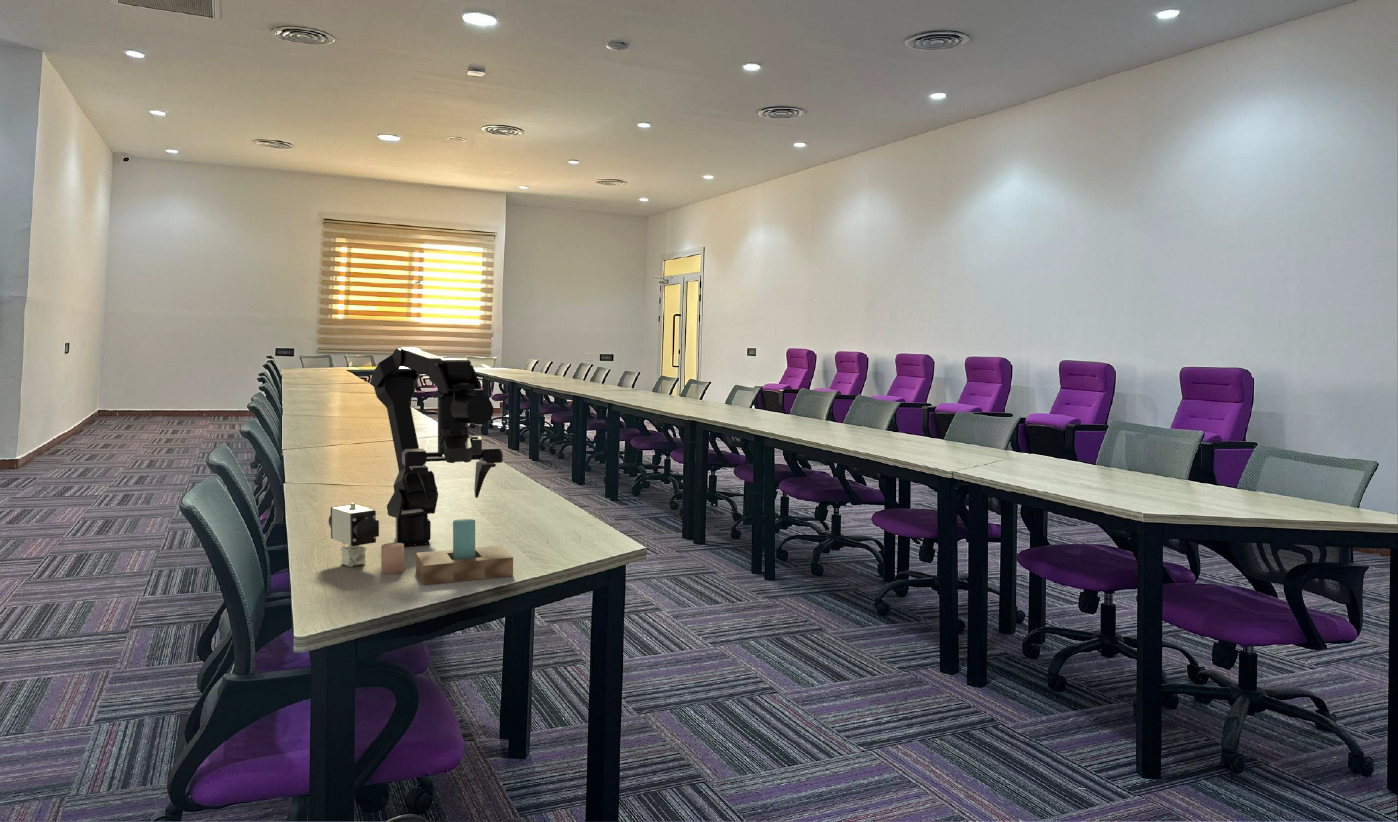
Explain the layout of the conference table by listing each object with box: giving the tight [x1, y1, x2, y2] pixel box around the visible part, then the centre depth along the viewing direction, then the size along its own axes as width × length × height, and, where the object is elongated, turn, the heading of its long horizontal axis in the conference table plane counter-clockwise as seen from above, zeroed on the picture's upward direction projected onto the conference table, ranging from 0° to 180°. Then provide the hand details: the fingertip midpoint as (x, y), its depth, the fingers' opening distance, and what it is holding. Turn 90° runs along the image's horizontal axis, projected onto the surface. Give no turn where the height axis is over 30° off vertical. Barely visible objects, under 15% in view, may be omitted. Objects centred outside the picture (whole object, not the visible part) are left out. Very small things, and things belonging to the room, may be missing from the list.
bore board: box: [415, 545, 514, 586], centre depth 154 cm, size 16×10×4 cm, turn 116°
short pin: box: [380, 542, 405, 575], centre depth 155 cm, size 4×4×5 cm
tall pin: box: [452, 518, 476, 560], centre depth 154 cm, size 4×4×10 cm
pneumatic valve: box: [328, 502, 380, 568], centre depth 159 cm, size 6×12×12 cm, turn 48°
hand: (452, 498), depth 165 cm, fingers open, 9 cm apart
